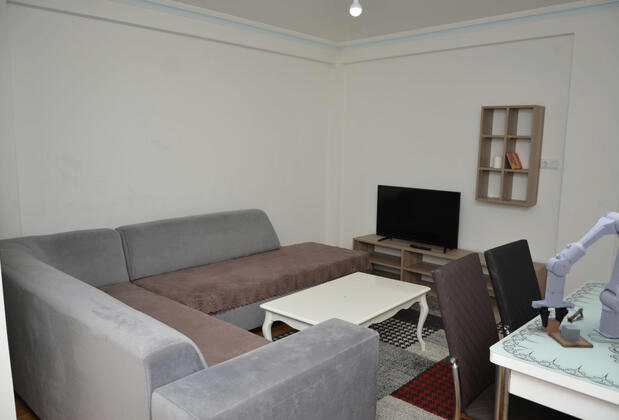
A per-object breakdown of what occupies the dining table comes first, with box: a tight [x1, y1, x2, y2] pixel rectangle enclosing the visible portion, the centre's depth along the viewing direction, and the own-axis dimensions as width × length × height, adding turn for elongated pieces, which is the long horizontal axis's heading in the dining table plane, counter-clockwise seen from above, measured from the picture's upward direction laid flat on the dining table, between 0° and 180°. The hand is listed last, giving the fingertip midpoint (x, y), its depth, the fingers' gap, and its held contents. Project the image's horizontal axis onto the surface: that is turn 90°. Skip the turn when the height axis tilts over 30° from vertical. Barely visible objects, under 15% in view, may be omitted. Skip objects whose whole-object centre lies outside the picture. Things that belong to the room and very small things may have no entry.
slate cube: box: [560, 324, 581, 341], centre depth 161 cm, size 4×4×4 cm
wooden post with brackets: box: [566, 307, 584, 324], centre depth 181 cm, size 2×8×5 cm, turn 118°
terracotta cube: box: [541, 317, 561, 334], centre depth 170 cm, size 4×4×4 cm
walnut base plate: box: [547, 331, 594, 349], centre depth 161 cm, size 10×10×1 cm
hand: (550, 326), depth 170 cm, fingers closed on terracotta cube, 4 cm apart
